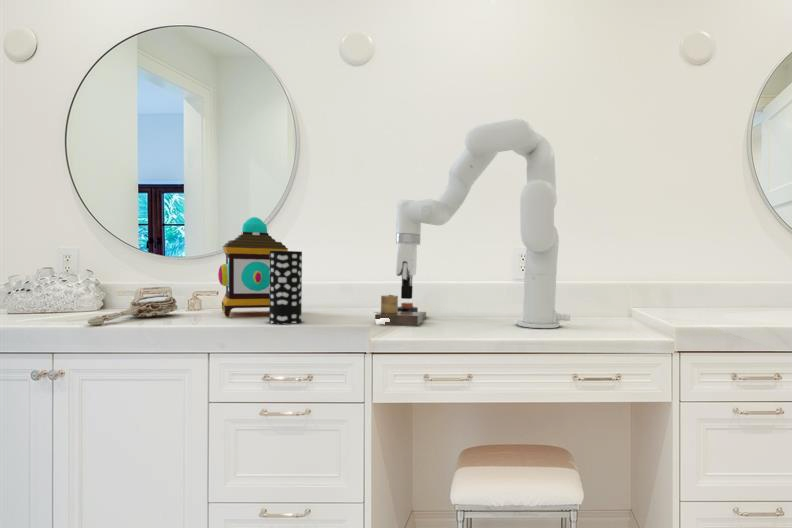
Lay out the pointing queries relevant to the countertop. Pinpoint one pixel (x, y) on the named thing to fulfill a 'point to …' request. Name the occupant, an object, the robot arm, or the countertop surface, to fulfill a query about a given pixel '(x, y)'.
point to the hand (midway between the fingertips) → (406, 298)
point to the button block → (411, 310)
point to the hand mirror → (141, 308)
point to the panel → (402, 318)
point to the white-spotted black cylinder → (285, 287)
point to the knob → (389, 304)
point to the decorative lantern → (248, 267)
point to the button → (406, 305)
